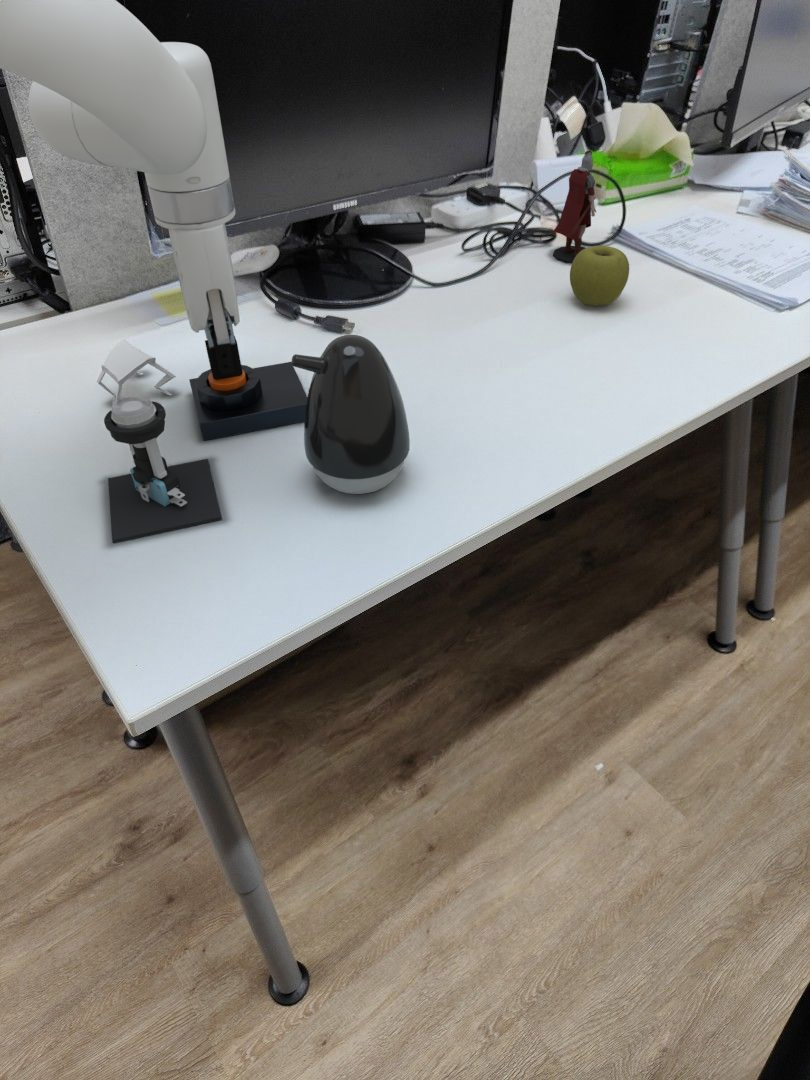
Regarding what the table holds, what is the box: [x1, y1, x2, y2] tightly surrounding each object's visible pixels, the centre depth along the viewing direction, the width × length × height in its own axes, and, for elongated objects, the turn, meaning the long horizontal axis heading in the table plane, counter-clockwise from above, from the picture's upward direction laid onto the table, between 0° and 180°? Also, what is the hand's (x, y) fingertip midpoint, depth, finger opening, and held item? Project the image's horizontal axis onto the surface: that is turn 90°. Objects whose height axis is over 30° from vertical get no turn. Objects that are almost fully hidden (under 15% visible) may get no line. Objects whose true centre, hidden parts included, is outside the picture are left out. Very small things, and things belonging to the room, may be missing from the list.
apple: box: [569, 245, 630, 307], centre depth 104 cm, size 8×8×7 cm
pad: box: [107, 458, 223, 544], centre depth 75 cm, size 10×10×1 cm
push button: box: [103, 395, 187, 507], centre depth 71 cm, size 7×5×10 cm
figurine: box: [552, 150, 597, 264], centre depth 114 cm, size 7×7×15 cm
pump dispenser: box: [291, 334, 411, 495], centre depth 72 cm, size 10×10×15 cm
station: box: [188, 361, 308, 441], centre depth 86 cm, size 12×10×4 cm
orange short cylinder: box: [208, 370, 246, 391], centre depth 84 cm, size 4×4×2 cm
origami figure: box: [96, 338, 177, 405], centre depth 89 cm, size 12×8×5 cm
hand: (227, 374), depth 84 cm, fingers closed
